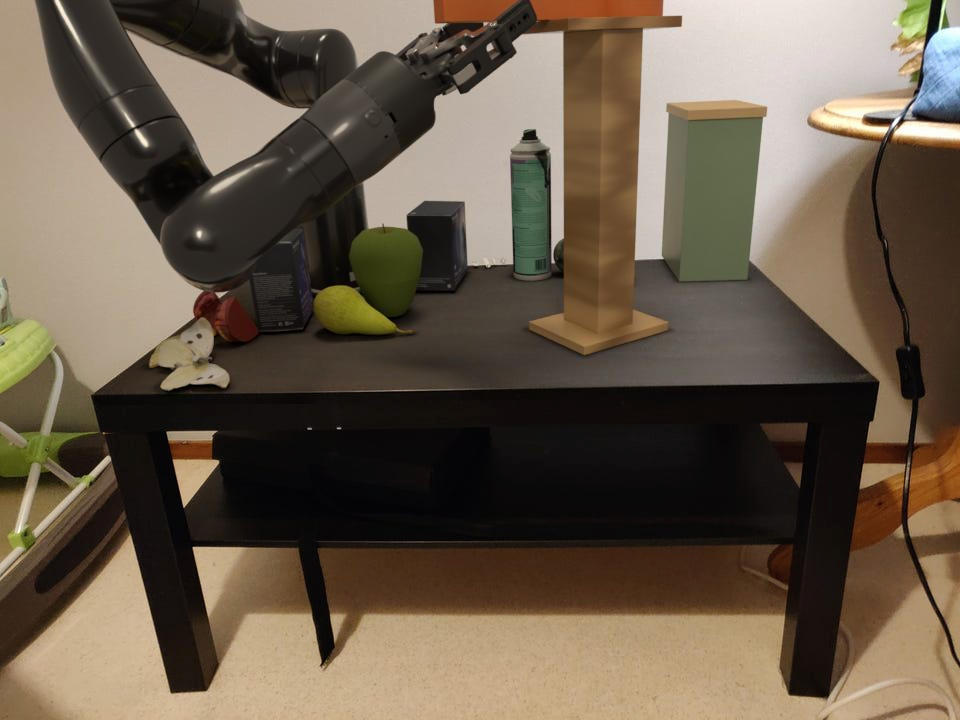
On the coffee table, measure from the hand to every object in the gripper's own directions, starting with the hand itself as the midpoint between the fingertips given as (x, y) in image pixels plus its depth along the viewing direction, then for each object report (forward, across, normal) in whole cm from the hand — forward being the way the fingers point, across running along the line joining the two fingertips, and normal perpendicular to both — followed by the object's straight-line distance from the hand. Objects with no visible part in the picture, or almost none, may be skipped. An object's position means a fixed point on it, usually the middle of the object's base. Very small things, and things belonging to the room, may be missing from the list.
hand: (503, 12), depth 65 cm
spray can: (0, -23, -38) cm, 44 cm away
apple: (-21, -19, -26) cm, 38 cm away
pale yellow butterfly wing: (-44, -25, -12) cm, 52 cm away
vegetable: (+10, -20, -38) cm, 44 cm away
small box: (-10, -29, -32) cm, 44 cm away
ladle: (+5, 0, -4) cm, 6 cm away
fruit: (-27, -20, -18) cm, 38 cm away
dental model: (-35, -21, -15) cm, 44 cm away
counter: (+18, -11, -48) cm, 53 cm away
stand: (-6, 0, -34) cm, 35 cm away
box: (-31, -26, -20) cm, 45 cm away
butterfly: (-42, -16, -10) cm, 46 cm away
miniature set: (-4, -33, -34) cm, 47 cm away
